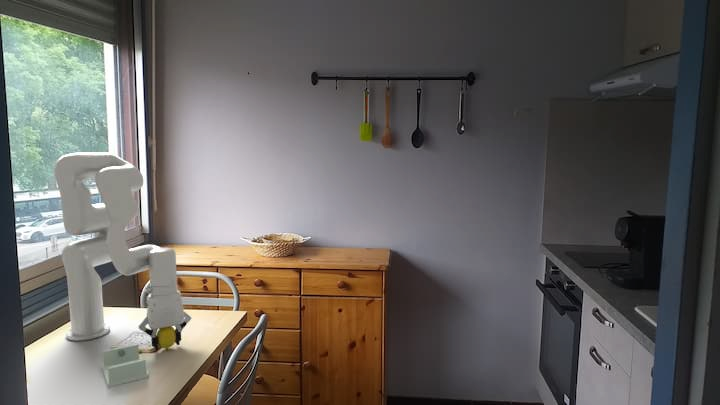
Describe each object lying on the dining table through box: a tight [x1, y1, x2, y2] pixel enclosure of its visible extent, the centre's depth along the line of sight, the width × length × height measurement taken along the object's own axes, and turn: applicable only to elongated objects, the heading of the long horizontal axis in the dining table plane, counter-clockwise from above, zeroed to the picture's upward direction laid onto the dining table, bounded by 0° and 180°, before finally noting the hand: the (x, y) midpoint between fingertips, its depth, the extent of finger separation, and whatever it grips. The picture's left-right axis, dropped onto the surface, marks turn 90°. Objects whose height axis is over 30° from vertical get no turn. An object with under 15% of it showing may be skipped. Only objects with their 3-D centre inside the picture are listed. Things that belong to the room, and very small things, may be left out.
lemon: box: [156, 326, 176, 350], centre depth 146 cm, size 6×6×8 cm
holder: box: [101, 343, 150, 388], centre depth 132 cm, size 13×10×5 cm
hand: (166, 345), depth 147 cm, fingers closed on lemon, 5 cm apart
